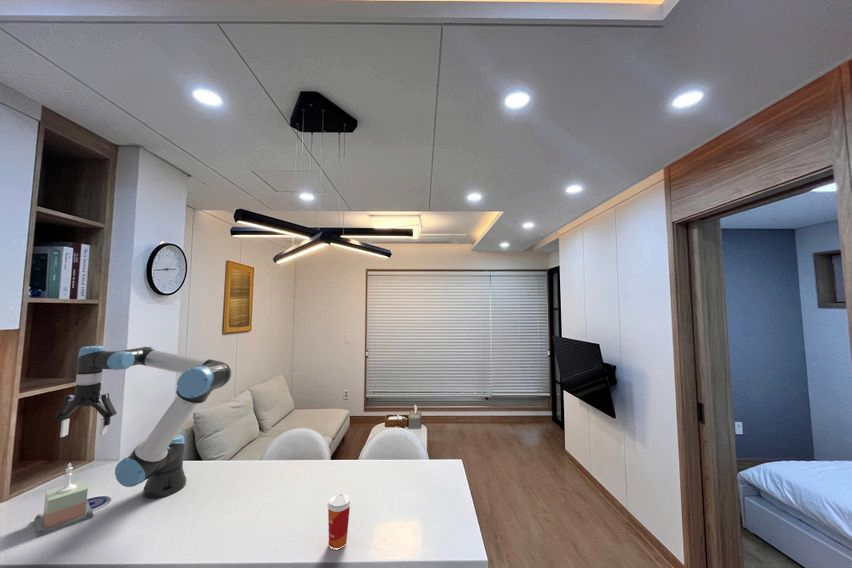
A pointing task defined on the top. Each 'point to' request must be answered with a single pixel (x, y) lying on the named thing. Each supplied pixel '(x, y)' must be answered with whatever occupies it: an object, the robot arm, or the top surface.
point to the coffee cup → (338, 520)
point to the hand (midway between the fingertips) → (84, 434)
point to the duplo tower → (63, 509)
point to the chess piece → (67, 481)
